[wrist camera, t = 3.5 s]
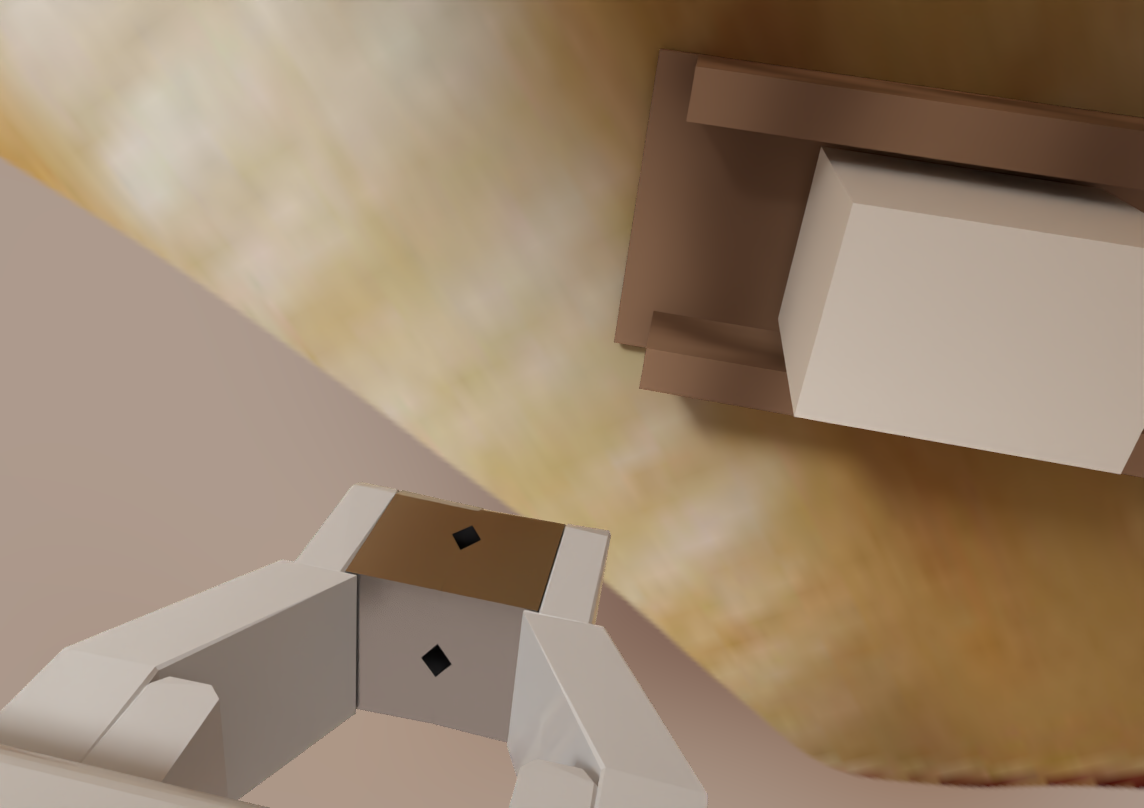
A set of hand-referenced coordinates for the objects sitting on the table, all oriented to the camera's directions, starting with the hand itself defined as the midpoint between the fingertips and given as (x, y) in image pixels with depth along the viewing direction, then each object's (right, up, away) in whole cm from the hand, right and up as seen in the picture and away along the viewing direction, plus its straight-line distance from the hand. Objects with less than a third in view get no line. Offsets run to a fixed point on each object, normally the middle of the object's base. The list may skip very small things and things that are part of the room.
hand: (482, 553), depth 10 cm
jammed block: (+11, +6, +13) cm, 18 cm away
